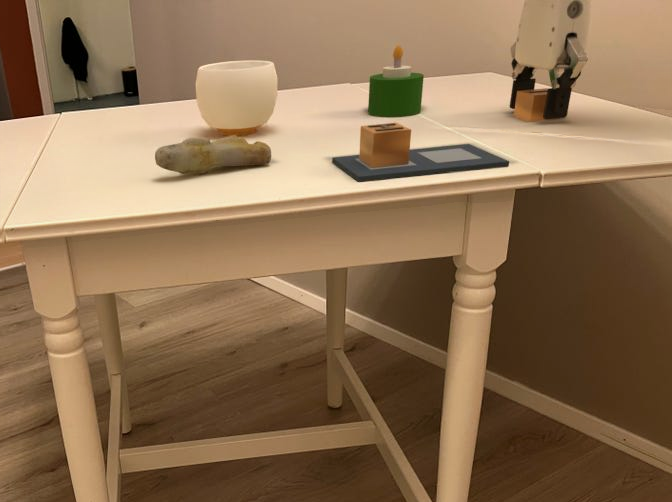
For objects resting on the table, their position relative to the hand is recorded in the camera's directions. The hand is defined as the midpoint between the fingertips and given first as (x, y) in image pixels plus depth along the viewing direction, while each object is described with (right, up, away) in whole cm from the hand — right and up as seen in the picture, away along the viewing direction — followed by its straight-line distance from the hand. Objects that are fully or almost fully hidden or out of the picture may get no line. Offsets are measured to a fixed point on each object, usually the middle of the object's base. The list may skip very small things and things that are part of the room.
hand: (536, 112), depth 102 cm
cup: (-43, 0, +8) cm, 43 cm away
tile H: (-27, -12, -17) cm, 34 cm away
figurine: (-47, -12, -12) cm, 50 cm away
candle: (-17, +5, +14) cm, 22 cm away
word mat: (-22, -12, -16) cm, 30 cm away
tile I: (0, -1, +1) cm, 1 cm away
